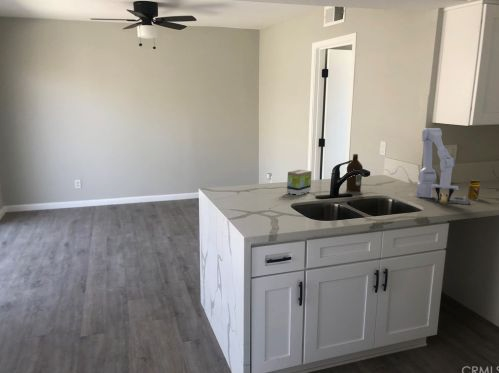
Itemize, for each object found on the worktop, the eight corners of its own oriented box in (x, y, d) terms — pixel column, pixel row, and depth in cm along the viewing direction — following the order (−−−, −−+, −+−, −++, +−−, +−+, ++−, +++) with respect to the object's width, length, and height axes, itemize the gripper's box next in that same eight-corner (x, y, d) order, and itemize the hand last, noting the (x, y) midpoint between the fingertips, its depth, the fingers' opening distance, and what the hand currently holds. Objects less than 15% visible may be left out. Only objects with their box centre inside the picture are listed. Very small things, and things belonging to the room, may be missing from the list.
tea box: (299, 196, 273) (300, 173, 270) (286, 193, 279) (286, 171, 276) (311, 192, 285) (311, 170, 282) (298, 190, 291) (298, 168, 287)
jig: (435, 201, 261) (436, 198, 260) (435, 197, 271) (435, 194, 270) (468, 204, 254) (468, 201, 254) (466, 200, 264) (467, 197, 264)
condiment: (478, 200, 265) (480, 181, 262) (463, 198, 269) (465, 180, 266) (478, 198, 271) (481, 179, 269) (464, 196, 275) (466, 178, 273)
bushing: (439, 204, 255) (440, 194, 253) (439, 202, 258) (440, 193, 257) (446, 204, 253) (448, 195, 252) (446, 203, 257) (447, 193, 256)
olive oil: (342, 190, 292) (344, 154, 286) (351, 188, 299) (353, 152, 294) (355, 192, 284) (358, 155, 279) (364, 190, 291) (366, 154, 286)
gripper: (432, 178, 252) (430, 200, 254) (459, 180, 246) (457, 203, 249) (432, 176, 258) (430, 198, 261) (458, 178, 253) (456, 200, 255)
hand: (443, 200), depth 255 cm, fingers open, 5 cm apart
